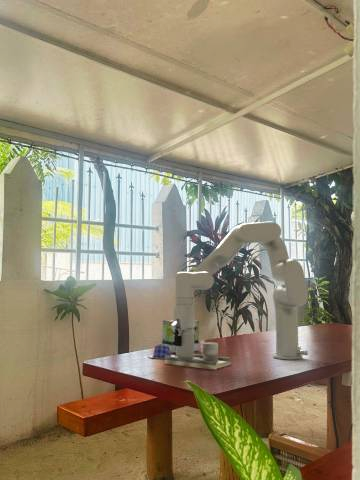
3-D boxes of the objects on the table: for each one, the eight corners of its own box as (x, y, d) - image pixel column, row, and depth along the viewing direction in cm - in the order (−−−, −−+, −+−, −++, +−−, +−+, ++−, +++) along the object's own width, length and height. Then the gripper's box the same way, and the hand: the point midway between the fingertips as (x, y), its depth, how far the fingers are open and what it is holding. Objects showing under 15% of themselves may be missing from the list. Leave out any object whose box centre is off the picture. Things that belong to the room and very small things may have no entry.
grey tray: (230, 364, 176) (230, 342, 176) (214, 369, 165) (214, 346, 166) (182, 359, 188) (182, 339, 189) (164, 363, 178) (164, 341, 179)
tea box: (172, 353, 206) (173, 321, 207) (161, 350, 214) (161, 319, 216) (199, 351, 214) (199, 319, 215) (187, 348, 222) (187, 318, 224)
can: (175, 356, 184) (175, 327, 185) (193, 356, 185) (193, 327, 186) (176, 359, 176) (176, 329, 178) (195, 359, 177) (195, 328, 178)
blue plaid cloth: (179, 356, 198) (179, 344, 199) (170, 360, 187) (170, 348, 188) (154, 355, 202) (154, 343, 203) (143, 359, 191) (143, 346, 192)
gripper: (188, 301, 192) (188, 341, 190) (164, 302, 178) (164, 346, 176) (203, 301, 188) (203, 343, 186) (180, 302, 174) (180, 347, 172)
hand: (184, 344), depth 181 cm, fingers open, 9 cm apart
